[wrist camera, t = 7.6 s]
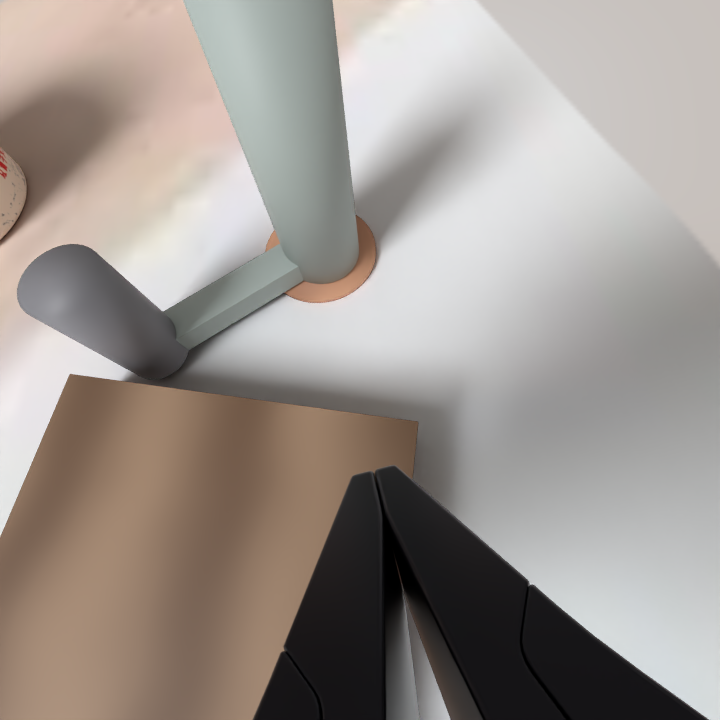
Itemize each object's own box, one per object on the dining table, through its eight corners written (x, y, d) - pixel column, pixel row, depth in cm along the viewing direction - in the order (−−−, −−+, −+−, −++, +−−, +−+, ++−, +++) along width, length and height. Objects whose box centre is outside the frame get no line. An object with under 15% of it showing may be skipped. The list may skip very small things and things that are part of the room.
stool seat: (-41, 783, 14) (-129, 838, 11) (183, 198, 22) (160, 162, 20) (364, 894, 12) (360, 985, 10) (437, 218, 21) (443, 181, 18)
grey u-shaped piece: (146, 398, 18) (-224, 222, 7) (117, 337, 19) (-239, 108, 8) (373, 258, 20) (356, -50, 9) (333, 211, 21) (275, -112, 10)
